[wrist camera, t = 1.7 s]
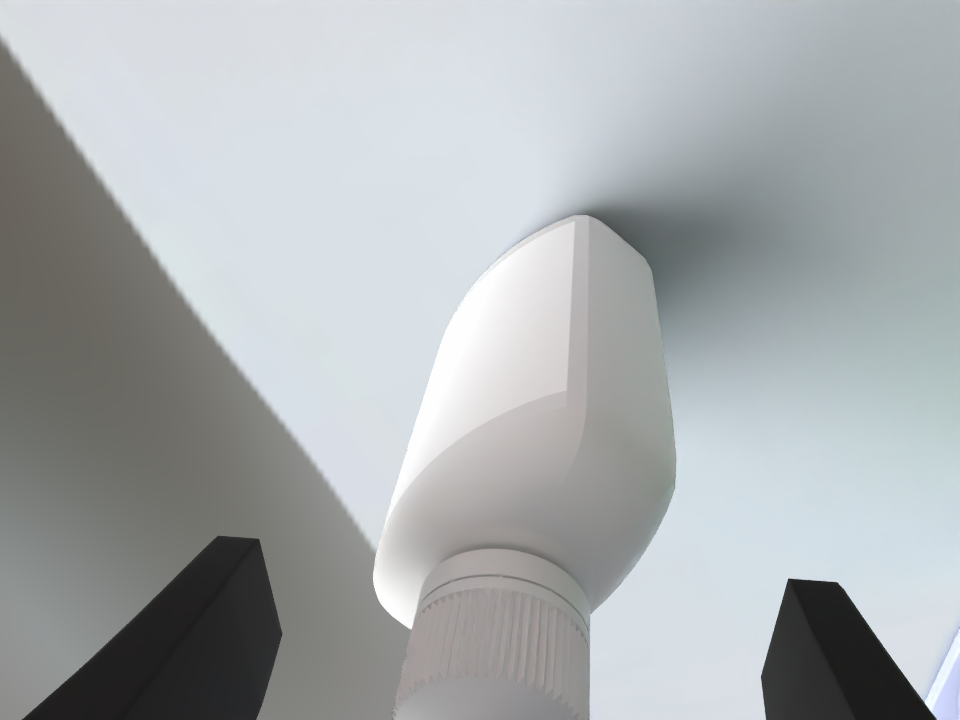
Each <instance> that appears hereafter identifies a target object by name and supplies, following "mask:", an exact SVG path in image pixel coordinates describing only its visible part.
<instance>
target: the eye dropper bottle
mask: <svg viewBox="0 0 960 720" xmlns="http://www.w3.org/2000/svg"><path fill="white" fill-rule="evenodd" d="M675 477H676V449H675V439H674V429H673V419H672V411H671V403H670V396H669V388H668V381H667V374H666V366H665V359H664V351H663V344H662V337H661V330H660V323H659V316H658V309H657V302H656V295H655V289H654V282H653V275H652V270H651V268H650V266H649V264H648V263H647V261H646V259H645V258H644V257H643V256H642V255H641V254H640V253H638V252H637V251H636V250H635V249H634V248H633V247H632V246H631V245H629V244H628V243H627V242H626V241H625V240H623V239H622V238H621V237H620V236H619V235H617V234H616V233H615V232H614V231H613V230H612V229H610V228H609V227H608V226H606V225H605V224H604V223H603V222H601V221H600V220H598V219H596V218H593V217H591V216H589V215H575V216H570V217H567V218H565V219H562V220H559V221H557V222H555V223H553V224H551V225H549V226H546V227H544V228H543V229H541V230H539V231H537V232H535V233H533V234H532V235H530V236H529V237H527V238H525V239H524V240H522V241H521V242H519V243H518V244H516V245H515V246H513V247H512V248H511V249H509V250H508V251H507V252H506V253H504V254H503V255H502V256H501V257H499V258H498V259H497V260H496V261H495V262H494V263H493V264H492V265H491V266H490V267H489V268H488V269H487V270H486V271H485V272H484V273H483V274H482V275H481V276H480V277H479V278H478V280H477V281H476V282H475V283H474V284H473V286H472V287H471V288H470V290H469V291H468V292H467V294H466V295H465V297H464V298H463V300H462V301H461V303H460V305H459V306H458V308H457V310H456V312H455V313H454V315H453V317H452V319H451V321H450V323H449V325H448V327H447V330H446V332H445V335H444V337H443V340H442V342H441V345H440V348H439V351H438V355H437V358H436V361H435V364H434V367H433V370H432V373H431V377H430V380H429V383H428V386H427V389H426V392H425V395H424V399H423V402H422V405H421V408H420V411H419V414H418V417H417V421H416V424H415V427H414V430H413V433H412V436H411V440H410V443H409V446H408V449H407V452H406V456H405V459H404V462H403V465H402V468H401V472H400V475H399V478H398V481H397V485H396V488H395V491H394V494H393V497H392V501H391V504H390V507H389V511H388V514H387V517H386V521H385V524H384V528H383V531H382V535H381V538H380V542H379V545H378V548H377V554H376V559H375V565H374V573H373V581H374V587H375V590H376V594H377V597H378V599H379V602H380V603H381V604H382V605H383V607H384V608H385V609H386V610H387V611H388V612H389V613H390V615H392V616H393V617H394V618H395V619H397V620H398V621H400V622H401V623H402V624H404V625H405V626H406V627H408V628H409V629H411V634H410V639H409V643H408V647H407V651H406V655H405V659H404V664H403V668H402V672H401V677H400V681H399V685H398V689H397V693H396V697H395V701H394V706H393V711H392V714H393V718H392V720H589V689H590V614H591V613H592V612H593V611H594V610H596V609H597V608H598V607H599V606H600V605H601V604H602V603H603V602H604V601H605V600H606V599H607V598H608V597H609V596H610V595H611V594H612V593H613V592H614V591H615V590H616V588H617V587H618V586H619V585H620V584H621V583H622V582H623V580H624V579H625V578H626V577H627V575H628V574H629V573H630V572H631V570H632V569H633V568H634V566H635V565H636V563H637V562H638V561H639V559H640V558H641V556H642V555H643V553H644V552H645V550H646V548H647V547H648V545H649V544H650V542H651V540H652V539H653V537H654V535H655V534H656V532H657V529H658V527H659V525H660V523H661V521H662V519H663V517H664V515H665V513H666V511H667V509H668V506H669V503H670V501H671V498H672V495H673V492H674V489H675Z"/></svg>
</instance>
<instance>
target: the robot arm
mask: <svg viewBox="0 0 960 720" xmlns="http://www.w3.org/2000/svg"><path fill="white" fill-rule="evenodd" d="M281 637H282V631H281V627H280V623H279V618H278V614H277V610H276V606H275V602H274V598H273V594H272V590H271V586H270V582H269V577H268V574H267V569H266V566H265V562H264V557H263V553H262V549H261V545H260V541H259V539H254V538H240V537H227V536H217V537H216V538H215V539H214V540H213V541H212V542H211V543H210V544H209V545H208V546H207V547H206V548H205V549H203V550H202V551H201V552H200V553H199V554H198V555H197V556H196V557H195V558H194V559H193V560H192V561H191V562H190V563H189V564H188V565H187V566H186V567H185V568H184V569H183V570H182V571H181V572H180V573H179V574H178V575H177V576H176V577H175V578H174V579H173V580H172V581H171V582H170V583H169V584H168V585H167V586H166V587H165V588H164V589H163V590H162V591H161V592H160V593H159V594H158V595H157V596H156V597H155V598H154V599H153V600H152V601H151V602H150V603H149V604H148V605H147V606H146V607H145V608H144V609H143V610H142V611H141V612H139V614H138V615H136V617H134V618H133V619H132V620H131V621H130V622H129V623H128V624H127V625H126V626H125V627H124V628H123V629H122V630H121V631H120V632H119V633H117V634H116V635H115V636H114V637H113V638H112V639H111V640H110V641H109V642H108V643H107V644H106V645H105V646H104V647H103V648H102V649H101V650H100V651H99V652H97V653H96V654H95V655H94V656H93V657H92V658H91V659H90V660H89V661H88V662H87V663H86V664H85V665H83V667H81V668H80V669H79V670H78V671H77V672H76V673H75V674H74V675H72V676H71V677H70V678H69V679H68V680H67V681H65V683H63V684H62V685H61V686H60V687H59V688H58V689H56V690H55V691H54V692H53V693H52V694H51V695H50V696H48V697H47V698H46V699H45V700H44V701H43V702H42V703H40V704H39V705H38V706H37V707H36V708H35V709H34V710H32V711H31V712H30V713H29V714H28V715H27V716H26V717H25V718H23V719H22V720H256V718H257V716H258V713H259V711H260V708H261V706H262V703H263V699H264V696H265V693H266V690H267V686H268V683H269V680H270V676H271V673H272V669H273V666H274V662H275V658H276V655H277V651H278V648H279V644H280V640H281ZM761 681H762V689H763V697H764V705H765V714H766V720H960V628H959V630H958V632H957V635H956V637H955V639H954V641H953V643H952V645H951V647H950V649H949V652H948V654H947V656H946V658H945V660H944V662H943V664H942V666H941V669H940V671H939V673H938V675H937V677H936V679H935V681H934V683H933V686H932V688H931V690H930V692H929V694H928V696H927V698H926V700H925V702H923V700H922V699H921V698H920V696H919V695H918V694H917V692H916V691H915V690H914V688H913V687H912V685H911V684H910V683H909V681H908V680H907V679H906V677H905V676H904V674H903V673H902V672H901V670H900V669H899V668H898V666H897V665H896V663H895V662H894V661H893V659H892V658H891V656H890V655H889V654H888V652H887V651H886V649H885V648H884V647H883V645H882V644H881V642H880V641H879V640H878V638H877V637H876V635H875V634H874V632H873V631H872V630H871V628H870V627H869V625H868V624H867V622H866V621H865V619H864V618H863V617H862V615H861V614H860V612H859V611H858V609H857V608H856V606H855V605H854V604H853V602H852V601H851V599H850V598H849V596H848V595H847V593H846V592H845V590H844V589H843V588H842V587H841V586H840V585H839V584H838V583H837V582H826V581H812V580H799V579H788V582H787V585H786V589H785V593H784V596H783V600H782V603H781V607H780V610H779V614H778V618H777V621H776V625H775V628H774V632H773V635H772V639H771V643H770V646H769V650H768V653H767V657H766V660H765V664H764V668H763V671H762V675H761Z"/></svg>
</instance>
